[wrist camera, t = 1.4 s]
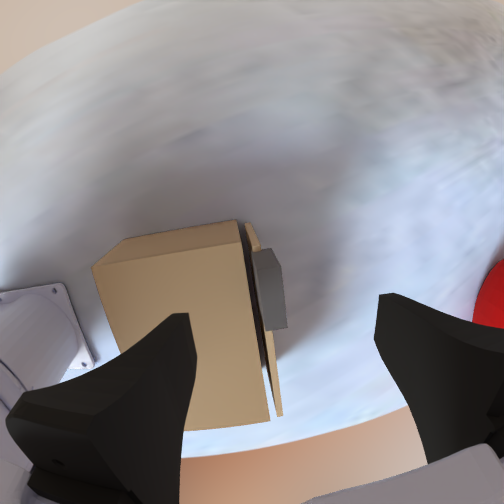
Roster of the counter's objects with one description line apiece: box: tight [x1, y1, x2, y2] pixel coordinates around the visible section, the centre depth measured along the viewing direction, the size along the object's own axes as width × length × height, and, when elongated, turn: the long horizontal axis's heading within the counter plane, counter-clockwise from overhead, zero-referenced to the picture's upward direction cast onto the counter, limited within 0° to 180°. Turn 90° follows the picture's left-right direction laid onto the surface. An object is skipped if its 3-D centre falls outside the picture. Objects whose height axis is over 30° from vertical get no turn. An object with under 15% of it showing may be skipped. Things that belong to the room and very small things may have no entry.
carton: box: [91, 220, 270, 431], centre depth 19 cm, size 8×13×6 cm, turn 8°
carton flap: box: [244, 222, 288, 417], centre depth 18 cm, size 1×12×8 cm, turn 8°
